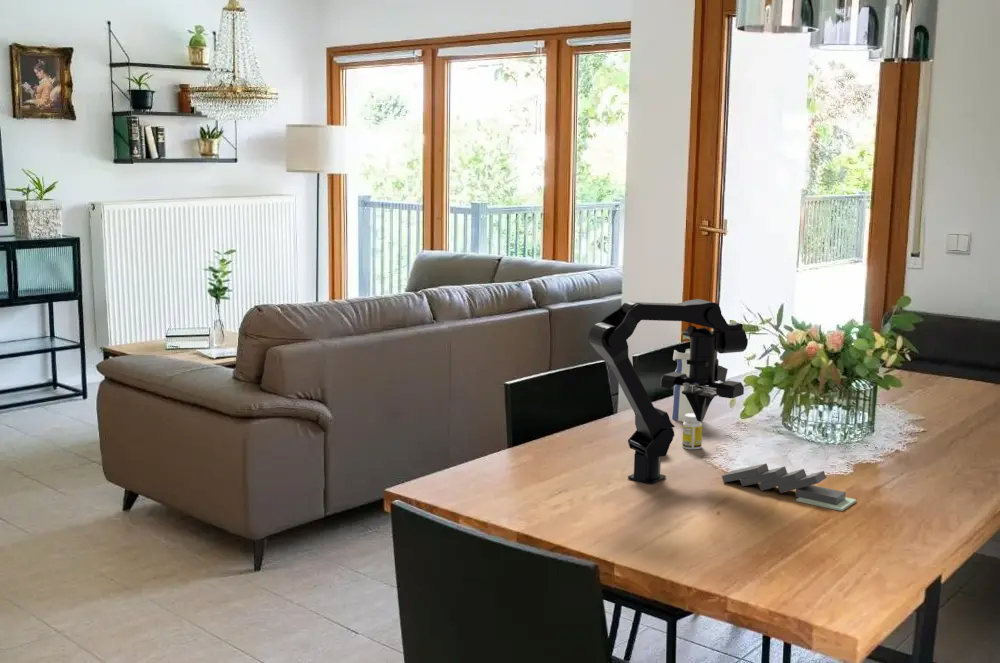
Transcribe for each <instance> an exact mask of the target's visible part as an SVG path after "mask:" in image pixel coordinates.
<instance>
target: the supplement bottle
mask: <svg viewBox="0 0 1000 663" xmlns="http://www.w3.org/2000/svg"><path fill="white" fill-rule="evenodd" d="M702 437H703V423H702V422H699V421H697V419H696V416H695V414H694V413H688V414H685V422H682V448H683V449H686V450H691V451H692V450H694V451H695V450H699V449H701V448H702V442H703V441H702V440H703V438H702Z"/></svg>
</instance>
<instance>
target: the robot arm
mask: <svg viewBox="0 0 1000 663" xmlns="http://www.w3.org/2000/svg"><path fill="white" fill-rule="evenodd" d="M641 321H658V322H659V321H661V322H685V323H689V324H691V325H688V327H687V328H686V329H685V330H683V331H682V332H681V333H682V334H681V335H682V336H683V335H684V336H688V337H690V344H689V345H690V347H689V349H690V359H688V360H687V364H690V369H689V377H687V375H686V374H683V373H677V372H675V371H673V372H668V373H664V374H663V375H661V378H660V387H661V388H665V389H674V386H675V385H681V386H684V391H682V394H684V395H685V396H686V398H687V399H688V401H689V403H690V405H691V407H692V409H693V412H694V414H695V416H696V419H697V421H699V422H701V423H702V422H703V421H704V419H705V416H706V414H707V412H708V409H709V406H710V405H711V402H712V400H713V399H715V397H719V398H726V399H735V398H737V397H740V396H743V395H744V394H745V387H744V384H743V383H742V382H741V381H736V380H735V381H733V380H726V379H727V375H728V368H726V367H724V366H722V365H720V364H719V358H716V355H717V354H716V352H717V353H718V354H720V355H721V354H730V353H731V354H733V353H743V352H745V351H746V349H748V348H747V347H748V344H749V338H747V333H746V331H745V329H744V328H743V327H744V326H743V325H744V324H743V323H740V322H732V323H728V322H727V320H726V319H725V317H724V315H722V310H721V307H720V305H719V303H717V302H713V301H708V300H704V299H701V298H696V299H695V298H694V299H690V300H685V301H682V302H678V303H671V302H669V303H667V302H645V301H644V302H641V301H639V302H638V301H633V300H628V301H626V302H624V303H622V304H621V306H619V307H618V308H617V309H616V310H614V311H612V312H611V313H609V314H608V315H606V316H605V317H604V318H602V319H601V321H599V322H598V323H597V322H596V323H595V324H593V326H592V327H591V328H590V329H589V333H588V335H587V336H588V337H587V338H588V341H589V343H590V345H591V346H592V347H593V348H594V350H595V351H596V353H597V354H598V355H599V356H601V358H602V359H604V361H606V362H607V364H608V365H609V367H610V368H611V371H612V372H613V373H612V374H613V375H614V377H615V378H616V380H617V382H618V384H619V386H620V388H621V390H622V391H623V394H624V396H625V397H626V399H627V401H628V403H629V405H630V407H631V409H632V411H633V413H634V415H635V416H634V425H635V428H636V430H635V431H634V432H633V434H631V436H630V437H629V438H628V440H627V443H628V446H629V449H630V450H633V451H634V454H633V455H634V458H633V459H634V462H633V473H632V474H630V475H627V479H629V480H633V481H636V482H641V483H645V484H651V485H652V484H655V483H657V482H659V481H662V480H664V479H665V478H667V475H664V474H661V462H662V461H661V460H662V457H666V456H667V454H668V451H669V448H670V446H671V444H672V442H673V440H674V438H675V430H674V428H675V425H674V424H673V422H672V421H671V419H670V416H669V414H668V412H667V411H665V410H663V409H660V408H658V407H655V406H654V404H653V403H652V400H651V399H650V398H651V397H650V396H649V394H648V393H647V390H646V388H645V387H644V385H643V382H642V381H641V379H640V377H639V375H638V372H637V371H636V370H635V368H634V365H633V363H632V361H631V359H630V357H629V343H628V341H627V340H628V339H629V338H630V337H631V336H632V335H633V334H634V332H635V330H636V328H637V326H638V324H639V323H640V322H641ZM692 324H693V325H692ZM695 325H698V326H701V327H700V328H698V327H696V326H695ZM708 328H709V329H712V330H709V329H708ZM718 382H719V383H718ZM695 383H696V384H695Z"/></svg>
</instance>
